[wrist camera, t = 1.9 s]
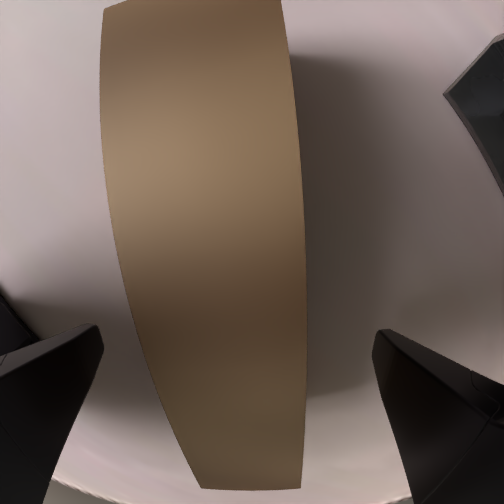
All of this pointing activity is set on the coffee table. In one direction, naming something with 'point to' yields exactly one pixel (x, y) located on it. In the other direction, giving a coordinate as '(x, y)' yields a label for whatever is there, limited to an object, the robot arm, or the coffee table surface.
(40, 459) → the robot arm
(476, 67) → the bracket
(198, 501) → the coffee table surface
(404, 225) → the coffee table surface
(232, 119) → the rail
